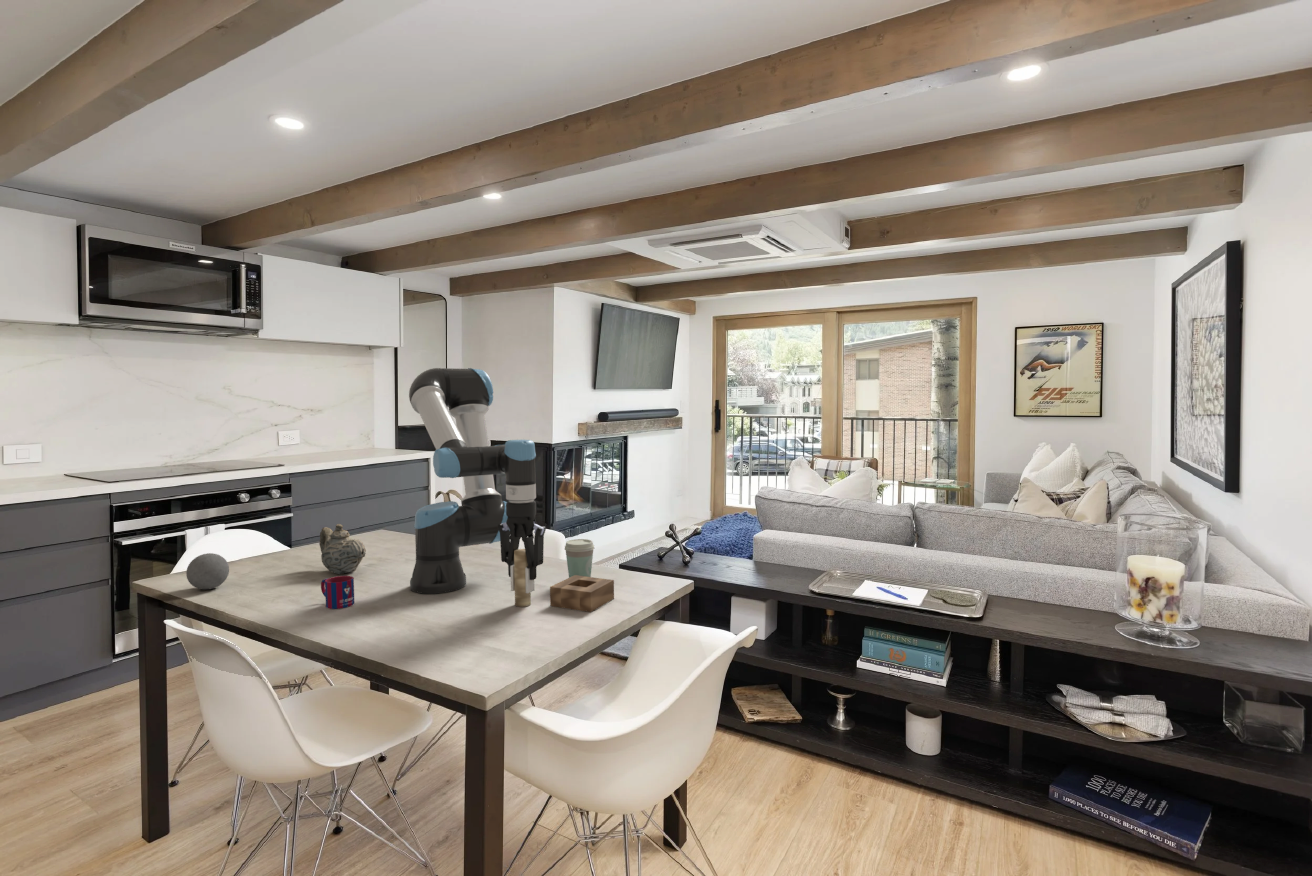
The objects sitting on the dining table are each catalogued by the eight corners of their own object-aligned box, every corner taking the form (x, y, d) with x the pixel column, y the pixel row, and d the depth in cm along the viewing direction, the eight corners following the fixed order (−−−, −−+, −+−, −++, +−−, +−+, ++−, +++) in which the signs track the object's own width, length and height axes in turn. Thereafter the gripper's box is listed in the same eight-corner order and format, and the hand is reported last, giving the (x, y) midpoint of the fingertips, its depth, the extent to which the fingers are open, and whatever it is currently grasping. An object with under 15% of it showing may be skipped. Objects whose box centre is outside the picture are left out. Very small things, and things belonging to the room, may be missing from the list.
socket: (550, 605, 169) (549, 586, 169) (575, 593, 180) (575, 575, 180) (590, 612, 164) (590, 592, 164) (614, 598, 175) (613, 580, 175)
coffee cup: (589, 588, 185) (589, 545, 184) (560, 586, 186) (560, 544, 186) (598, 579, 193) (598, 539, 192) (570, 578, 195) (570, 538, 194)
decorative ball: (209, 583, 192) (207, 549, 192) (238, 584, 190) (236, 550, 190) (178, 593, 182) (176, 557, 182) (208, 595, 180) (206, 558, 180)
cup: (335, 610, 166) (334, 584, 166) (313, 604, 172) (312, 578, 171) (359, 603, 172) (359, 577, 172) (337, 597, 177) (336, 572, 177)
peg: (511, 605, 169) (510, 551, 168) (521, 601, 173) (520, 548, 172) (524, 607, 168) (523, 553, 167) (533, 603, 171) (533, 549, 170)
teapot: (379, 572, 203) (377, 523, 202) (344, 581, 193) (342, 530, 192) (338, 563, 214) (336, 517, 213) (303, 571, 205) (301, 523, 204)
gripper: (484, 500, 169) (486, 590, 170) (540, 504, 162) (541, 599, 163) (503, 496, 176) (504, 583, 177) (557, 500, 168) (558, 590, 170)
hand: (522, 590), depth 170 cm, fingers closed on peg, 4 cm apart
